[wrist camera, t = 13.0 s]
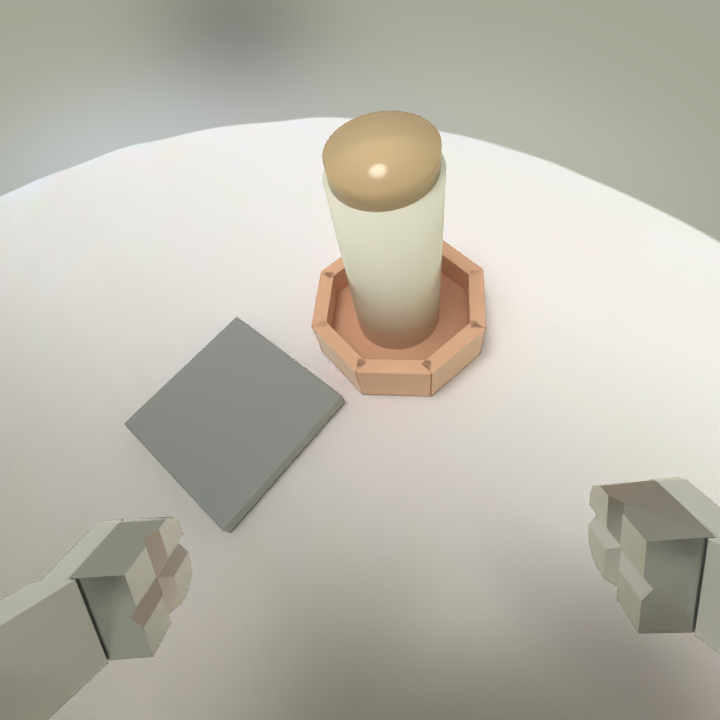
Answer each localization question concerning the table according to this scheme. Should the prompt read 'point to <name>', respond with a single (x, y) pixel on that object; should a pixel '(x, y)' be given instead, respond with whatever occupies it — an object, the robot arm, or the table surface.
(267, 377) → the slate coaster
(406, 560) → the table surface
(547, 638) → the table surface
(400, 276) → the spice jar
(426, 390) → the terracotta dish
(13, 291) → the table surface
